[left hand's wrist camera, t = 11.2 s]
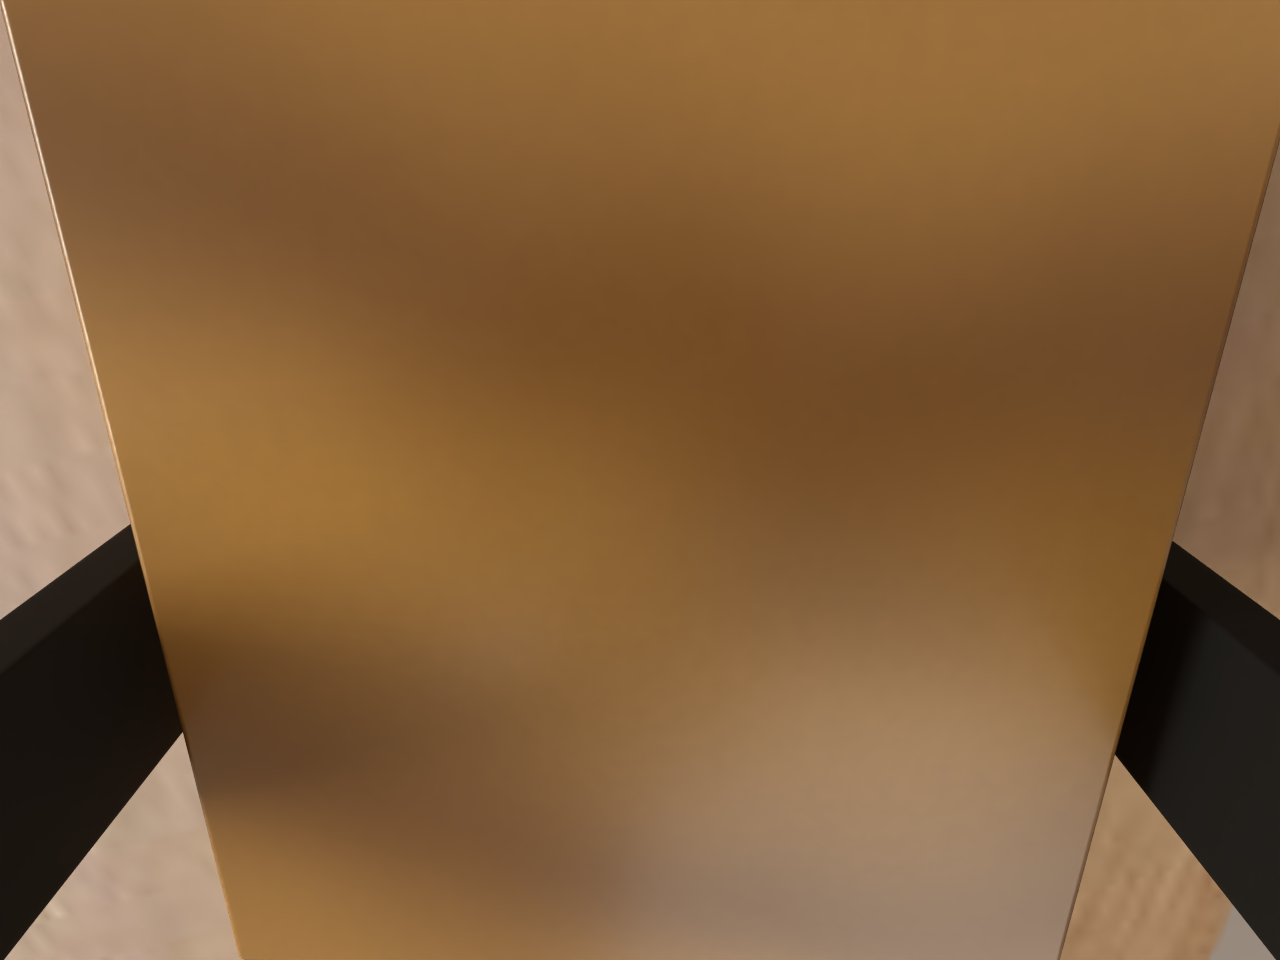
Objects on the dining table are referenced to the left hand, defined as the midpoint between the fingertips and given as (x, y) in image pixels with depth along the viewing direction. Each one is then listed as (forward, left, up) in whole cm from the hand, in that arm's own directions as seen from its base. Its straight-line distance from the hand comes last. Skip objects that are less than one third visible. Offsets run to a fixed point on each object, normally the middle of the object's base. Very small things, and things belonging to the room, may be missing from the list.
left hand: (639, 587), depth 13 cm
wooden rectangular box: (+5, +1, -5) cm, 8 cm away
